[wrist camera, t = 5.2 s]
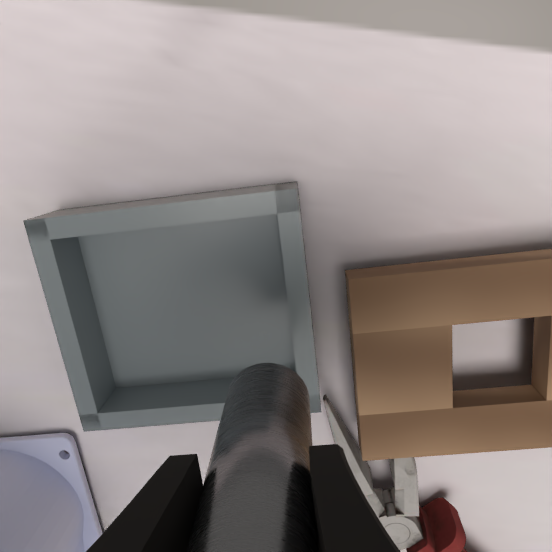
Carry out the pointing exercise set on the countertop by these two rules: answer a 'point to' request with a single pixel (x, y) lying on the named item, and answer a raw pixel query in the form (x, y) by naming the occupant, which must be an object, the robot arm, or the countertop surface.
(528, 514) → the countertop surface
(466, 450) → the brown frame
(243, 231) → the tray
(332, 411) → the pliers
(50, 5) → the countertop surface
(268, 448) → the stop pin
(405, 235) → the countertop surface
